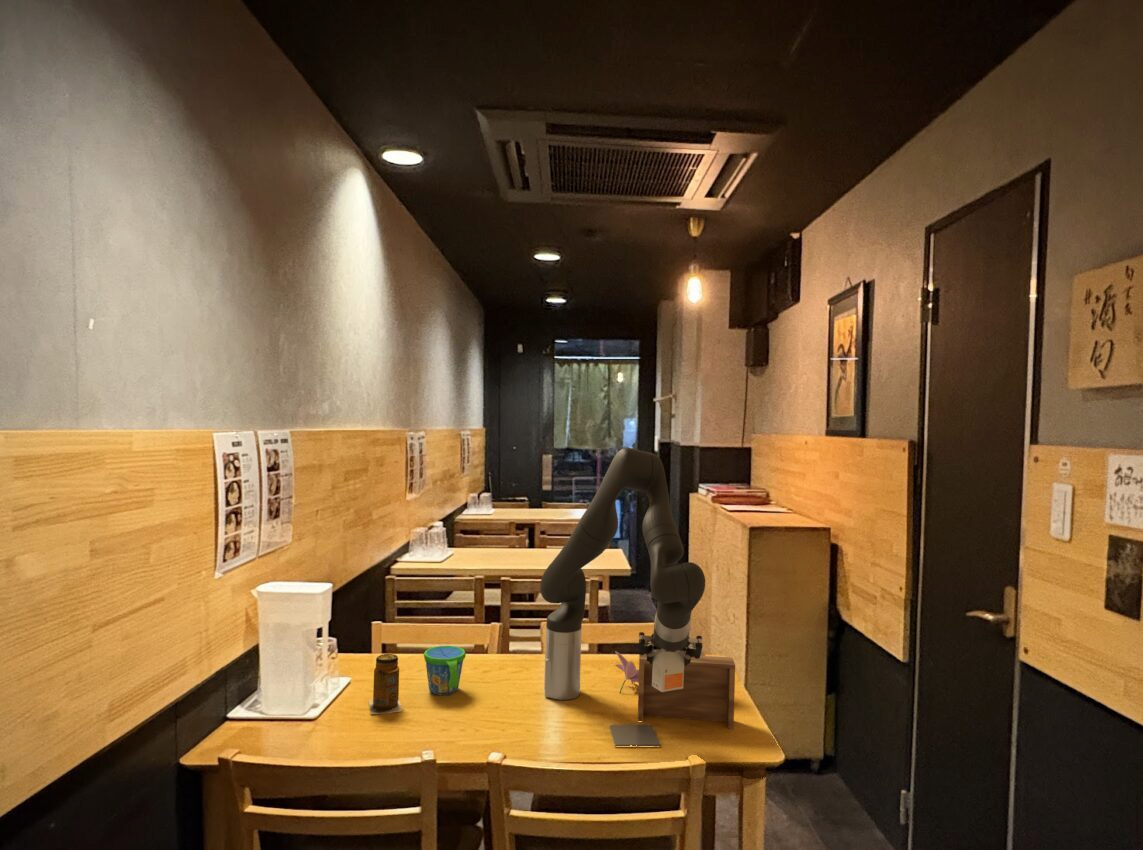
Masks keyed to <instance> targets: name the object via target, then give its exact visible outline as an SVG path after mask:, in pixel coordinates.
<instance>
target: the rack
mask: <svg viewBox="0 0 1143 850" xmlns="http://www.w3.org/2000/svg"><path fill="white" fill-rule="evenodd" d="M638 655H639V654H638ZM638 658H639V660H638V670H639V683H638V698H637V699H638V700H637V722H638V721H643V722H644V716H643V715H649V716H648V717H656V716H661V717H660V718H670V717H677V718H676V719H684V718H687V719H688V718H689V719H688V720H698V719H700V721H714V722H715V721H716V722H726V725H727V728H728V729H729V728H730V729H731V730H733V729H734V727H735V693H736V692H735V689H736V687H735V685H736V683H735V682H736V663H735V661H734V658H733V657H729V656H728V657H726V656H714V655H713V656H712V655H711V656H710V655H705V656H700V658H699V659H696V658H694V657H692V658H691V662H690V664H687V666H684V680H683V689H677V690H671V691H665V692H661V691H659V690H658V689H656V688H654V687H653V686H652V670H653V664H650V662H649V661H647V655H646V654H644V655H639V657H638ZM687 719H686V720H687Z"/></svg>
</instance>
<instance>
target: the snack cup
mask: <svg viewBox="0 0 1143 850" xmlns="http://www.w3.org/2000/svg"><path fill="white" fill-rule="evenodd" d="M423 657H424V661H425V667H426V676H427V677H426V678H427V682H428V690H429V692H430V693H432V694H434V695H439V696H449V695H451V694H454V693H456V691H458V690H459V685H460V681H461V675H462V669H463V662H464V660H465V659H466V651H465V649H464V648H461V647H460V646H455V645H439V646H433V647H430V648H428V649H426V650H425V651H424V652H423Z"/></svg>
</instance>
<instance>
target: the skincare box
mask: <svg viewBox="0 0 1143 850" xmlns="http://www.w3.org/2000/svg"><path fill="white" fill-rule="evenodd" d="M683 680H684V656H683V657H681V656H680V655H679V654H678V653H677V652H670V651H669V652H662V653H660V654H658V655H653V670H652V686H653V687H654V688H656V689H658V690H659V691H661V692H665V691H671V690H677V689H683Z"/></svg>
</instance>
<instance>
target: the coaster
mask: <svg viewBox="0 0 1143 850" xmlns="http://www.w3.org/2000/svg"><path fill="white" fill-rule="evenodd" d="M609 730H611V731H610V733H612V734H611V738H612V737H613V738H612V741H613V740H614V741H613V744H615V745H614V747H615V746H630V745H632V746H636V745H637V746H660V747H661V743H660V741H659V738H658V735H657V733H656V731H655V728H654V726H653V724H652V723H651V724H650V723H649V724H647V723H646V724H644V723H643V724H638V723H637V724H631V723H630V724H609Z"/></svg>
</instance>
